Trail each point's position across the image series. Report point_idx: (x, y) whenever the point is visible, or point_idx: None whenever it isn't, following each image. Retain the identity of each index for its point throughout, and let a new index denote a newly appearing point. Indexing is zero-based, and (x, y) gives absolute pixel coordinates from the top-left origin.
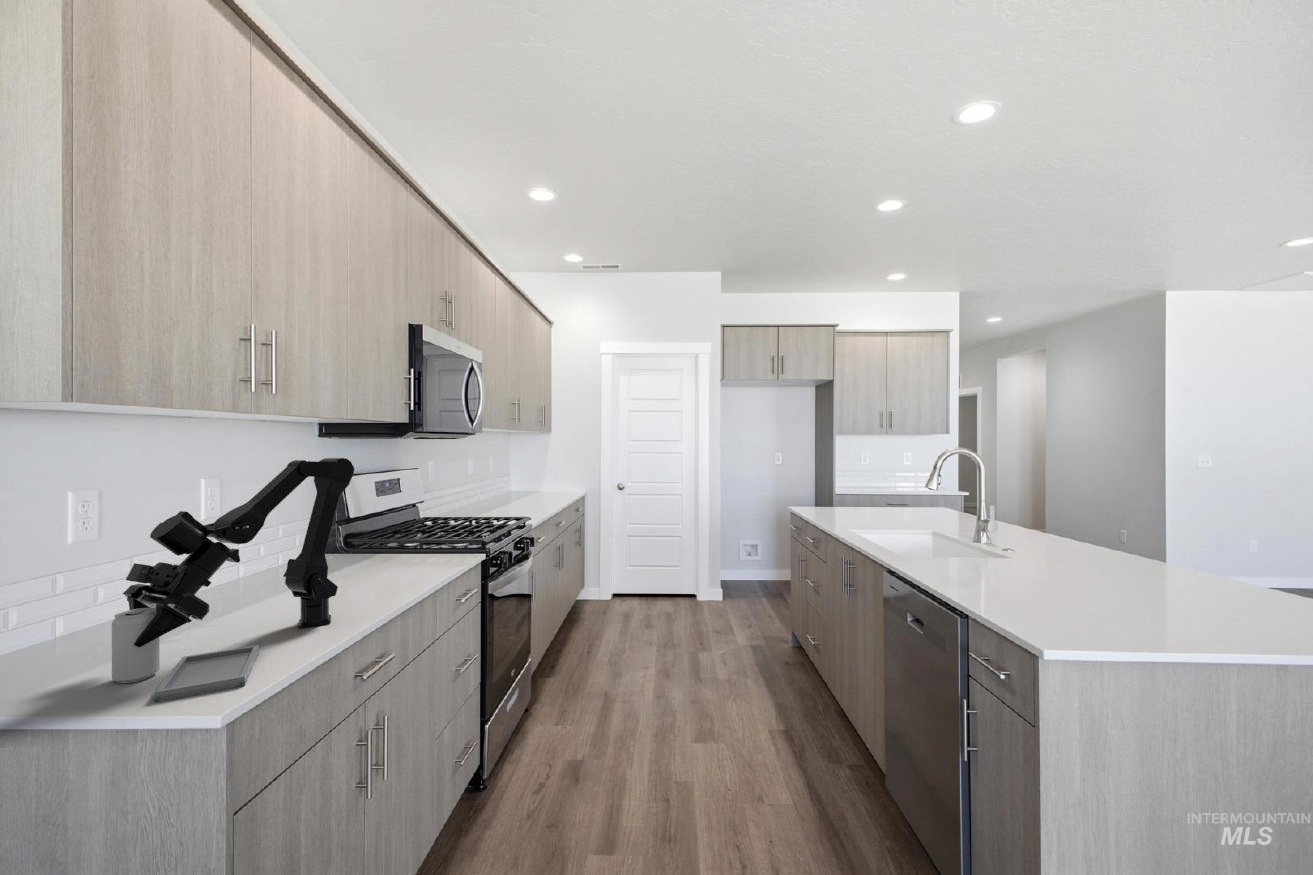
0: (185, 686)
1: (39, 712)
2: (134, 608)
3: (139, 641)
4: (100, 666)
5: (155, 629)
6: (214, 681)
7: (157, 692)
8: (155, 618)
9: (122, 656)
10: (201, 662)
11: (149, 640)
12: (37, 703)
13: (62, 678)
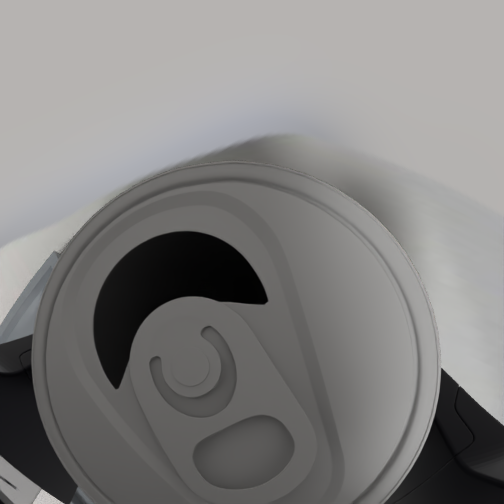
0: (27, 289)
1: (258, 153)
2: (470, 476)
3: None
4: (485, 368)
5: None
6: (4, 320)
7: (52, 254)
8: (17, 351)
9: (223, 286)
10: None
11: None
12: (329, 172)
13: (475, 279)
